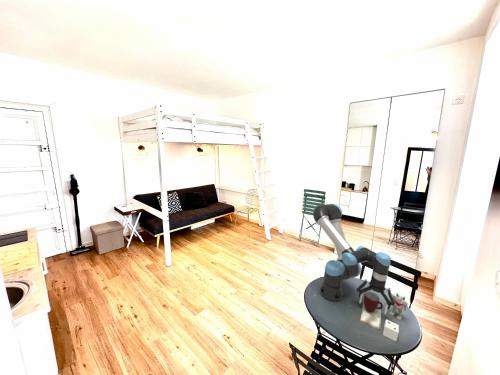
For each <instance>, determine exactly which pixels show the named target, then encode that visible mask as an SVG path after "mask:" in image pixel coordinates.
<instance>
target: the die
mask: <svg viewBox="0 0 500 375" xmlns="http://www.w3.org/2000/svg"><path fill="white" fill-rule="evenodd" d="M399 327H400V325H399V324H397V323H395V322H392V321H391V320H389V319H385V321H384V325H383V333H382V335H383V336H384V337H385V338H388V339H390V340H392V341H394V342H397V341H398V336H399V332H400V330H399V329H400V328H399Z"/></svg>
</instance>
